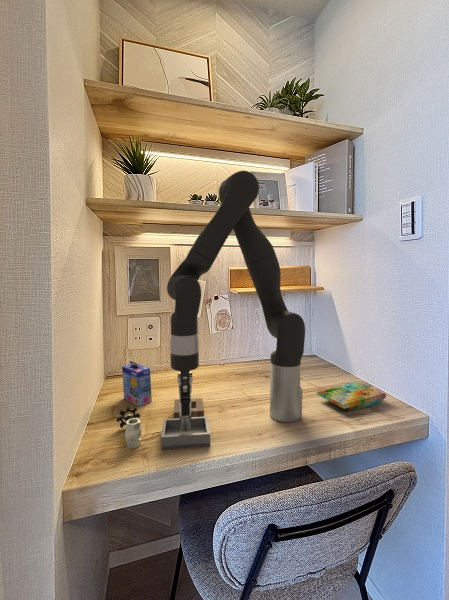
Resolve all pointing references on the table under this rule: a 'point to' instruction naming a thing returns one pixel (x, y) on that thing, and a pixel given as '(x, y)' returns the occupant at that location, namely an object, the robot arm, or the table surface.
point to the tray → (185, 434)
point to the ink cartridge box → (137, 383)
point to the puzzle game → (352, 396)
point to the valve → (131, 427)
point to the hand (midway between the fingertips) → (185, 411)
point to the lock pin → (185, 418)
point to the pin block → (196, 408)
